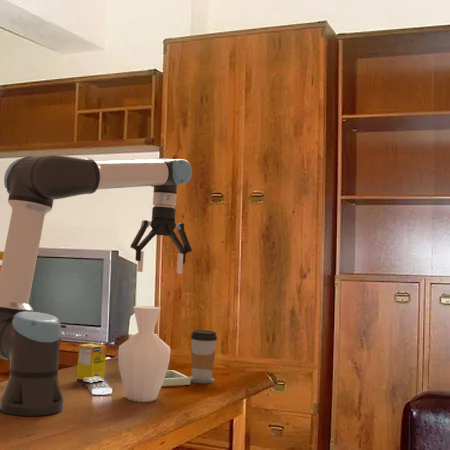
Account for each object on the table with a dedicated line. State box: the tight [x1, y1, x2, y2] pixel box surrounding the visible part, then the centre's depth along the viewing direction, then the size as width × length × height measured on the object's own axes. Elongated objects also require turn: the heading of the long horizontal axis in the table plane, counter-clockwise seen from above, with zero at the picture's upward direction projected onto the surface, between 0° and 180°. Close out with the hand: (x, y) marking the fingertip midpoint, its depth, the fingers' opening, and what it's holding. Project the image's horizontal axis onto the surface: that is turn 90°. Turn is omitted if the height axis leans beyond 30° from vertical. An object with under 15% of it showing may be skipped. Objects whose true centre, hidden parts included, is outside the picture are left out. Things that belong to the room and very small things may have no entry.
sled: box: [129, 333, 191, 387], centre depth 220 cm, size 13×25×12 cm, turn 28°
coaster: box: [188, 375, 215, 385], centre depth 220 cm, size 9×9×1 cm
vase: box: [117, 305, 171, 403], centre depth 192 cm, size 14×14×25 cm
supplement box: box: [76, 343, 107, 383], centre depth 210 cm, size 6×6×11 cm
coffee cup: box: [190, 329, 218, 381], centre depth 220 cm, size 8×8×15 cm
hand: (159, 272), depth 223 cm, fingers open, 13 cm apart
